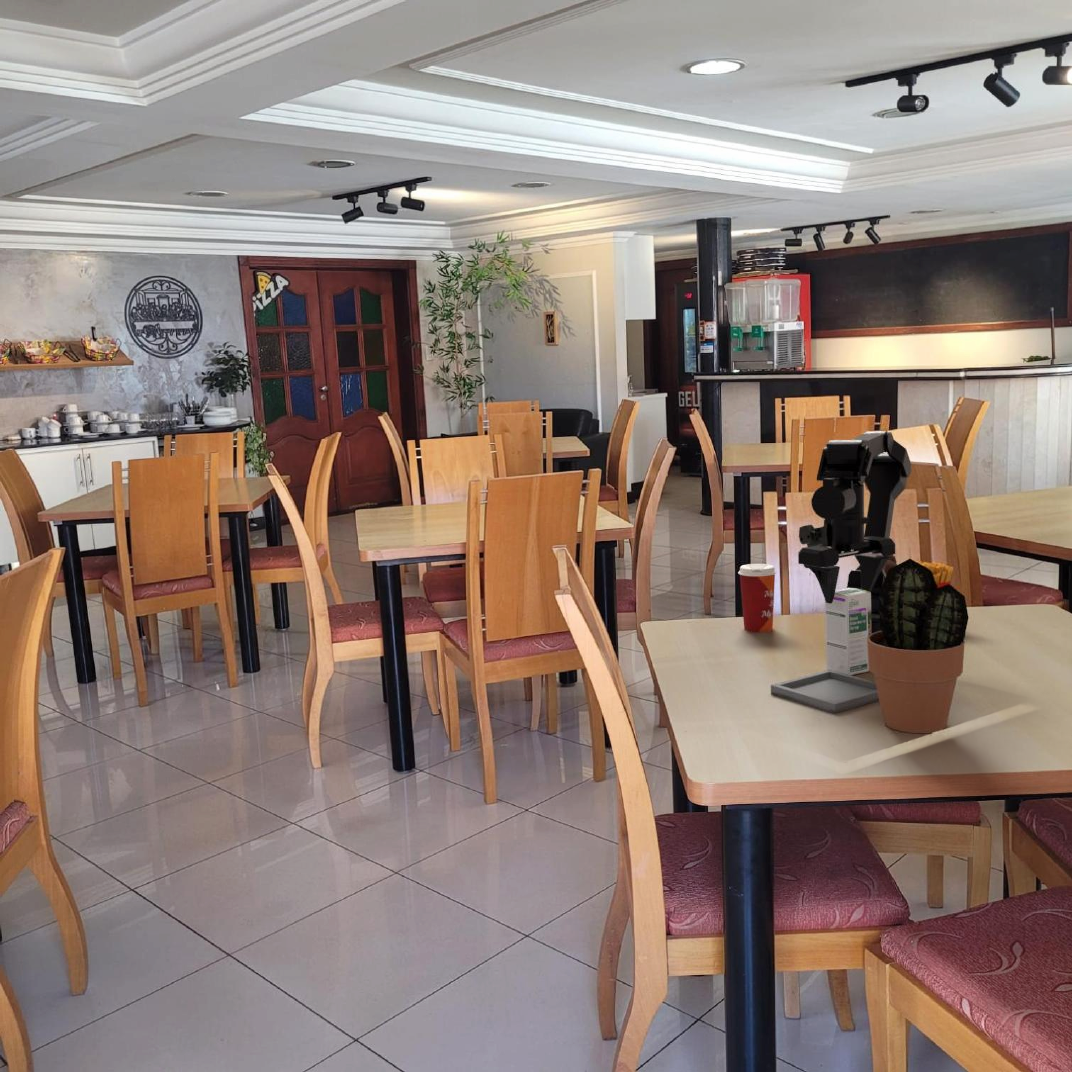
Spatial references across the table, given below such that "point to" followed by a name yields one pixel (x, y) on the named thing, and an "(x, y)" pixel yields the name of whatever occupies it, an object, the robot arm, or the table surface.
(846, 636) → the syrup box
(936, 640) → the potted plant
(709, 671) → the table surface
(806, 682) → the serving tray
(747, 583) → the paper cup
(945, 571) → the french fries
